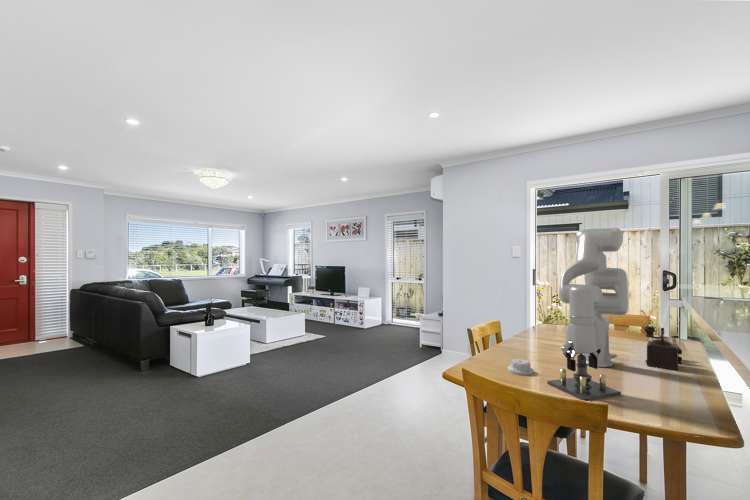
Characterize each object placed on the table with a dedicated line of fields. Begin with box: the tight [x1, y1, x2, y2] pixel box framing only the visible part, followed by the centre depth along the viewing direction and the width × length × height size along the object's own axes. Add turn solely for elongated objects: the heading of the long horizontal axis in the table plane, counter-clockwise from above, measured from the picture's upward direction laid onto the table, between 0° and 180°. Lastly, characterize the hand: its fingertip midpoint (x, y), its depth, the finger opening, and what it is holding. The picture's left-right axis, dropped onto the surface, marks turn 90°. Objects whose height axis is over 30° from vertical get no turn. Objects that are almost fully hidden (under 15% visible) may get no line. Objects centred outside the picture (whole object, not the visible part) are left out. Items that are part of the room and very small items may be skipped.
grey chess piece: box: [572, 354, 592, 388], centre depth 127 cm, size 6×6×12 cm
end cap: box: [678, 346, 683, 365], centre depth 161 cm, size 10×7×7 cm
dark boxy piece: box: [643, 325, 679, 372], centre depth 152 cm, size 16×11×18 cm
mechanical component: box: [507, 358, 535, 376], centre depth 146 cm, size 10×4×10 cm
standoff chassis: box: [547, 368, 622, 401], centre depth 126 cm, size 16×16×6 cm
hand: (582, 368), depth 126 cm, fingers open, 9 cm apart
